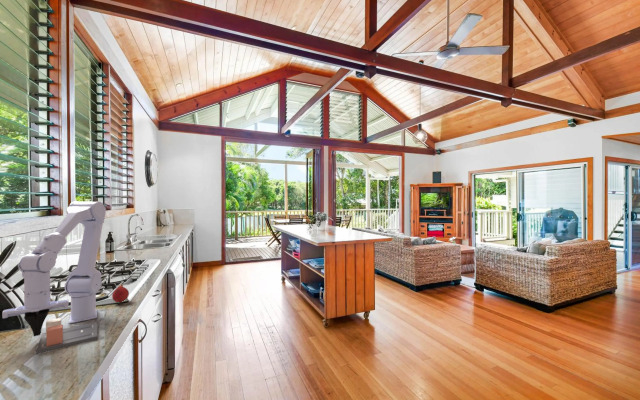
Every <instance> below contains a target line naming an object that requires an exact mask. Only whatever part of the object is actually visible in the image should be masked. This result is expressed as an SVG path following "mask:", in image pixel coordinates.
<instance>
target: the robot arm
mask: <svg viewBox="0 0 640 400" xmlns="http://www.w3.org/2000/svg"><path fill="white" fill-rule="evenodd" d="M106 212H107V208H106V206H105V205H104V203H103V202H101V201H76V200H75V201H71V203H70V204H69V205H68V207H67V208H66V215H65V217H63V220H62V221H61V222H60V224H59V225H58V226H57V228H56V229H55V231H54V232H53V233H47V234H46V235H45V236H44V237H43V238H42V240H41V241H40V242H39V244H38V245H37V246H36V247H35V248H34V249H33V251H31V253H28V254H26V255H24V256H23V257H22V258H21V259H20V261H19V264H17V268H18V270H19V271H20V272H21V276H22V278H23V279H24V280H23V283H24V285H23V292H24V294H23V295H24V297H23V298H24V300H23V306H18V307H13V308H8V309H4V310H3V311H2V314H1V315H2V319H7V318H8V317H15V316H21V315H24V317H23V319H24V320H25V321H26V323H27V324H28V325H29V327H30V329H31V331H32V335H33V337H37V336H41V335H42V328H43V325H44V322H45V320H46V318H47V316H48V314H49V312H50V310H56V309H60V308H64V309H65V308H69V304H70V314H69V319H68V324H74V323H79V322H83V321H89V320H93V319H97V318H98V309H97V308H96V305H97V304H96V302H97V301H96V300H97V299H96V297H97V296H96V295H97V293H98V292H99V290H100V289H101V287H102V285H103V282H102V272H100V271H99V270H98V269H97V268H96V263H97V258H98V254H99V253H98V251H99V248H100V247H99V246H100V241H101V237H102V236H101V235H102V229H103V224H104V223H105V217H106ZM79 224H82V226H83V227H84V230H83V236H82V240H81V244H80V251H79V254H78V255H79V256H78V261H77V265H76V268H75V269H74V270H72V271H71V272H70V273H69V274H68V277H67V279H66V281H65V283H64V291H65V292H66V294H68V297H70V303H69V299H63V300H53V301H51V270H52V269H53V268H55V266H56V263H57V258H58V254H60V252H61V250H62V249H63V248H64V246H65V245H66V244H67V243H68V241H67V236H68V235H70V233H71V232H72V231H73V230H74V229H75V228H76V227H77V226H78V225H79Z"/></svg>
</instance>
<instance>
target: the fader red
mask: <svg viewBox="0 0 640 400" xmlns="http://www.w3.org/2000/svg"><path fill="white" fill-rule="evenodd" d="M63 329H64V324H61V325H58V326H53V327H49V328H48V329H47V346H50V345H54V344H58V343H62V341H63Z"/></svg>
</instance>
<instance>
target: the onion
mask: <svg viewBox="0 0 640 400" xmlns="http://www.w3.org/2000/svg"><path fill="white" fill-rule="evenodd" d="M129 295H130V292H129V290H128V288H127V287H124V284H120V285H119V286H118V287H117V288H116V289H114V291H113V293H112V296H111V298H112V300H113V302H115V303H117V302H122V301H124V300H125V299H126V300H127V299H128V298H129ZM126 300H125V301H126ZM125 301H124V302H125Z"/></svg>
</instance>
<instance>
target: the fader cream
mask: <svg viewBox="0 0 640 400" xmlns="http://www.w3.org/2000/svg"><path fill="white" fill-rule="evenodd" d="M58 325H62V317H58V318H52V319H48V320H46V322H45V333H46V338H47V329H48V328H49V327H53V326H58Z"/></svg>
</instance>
